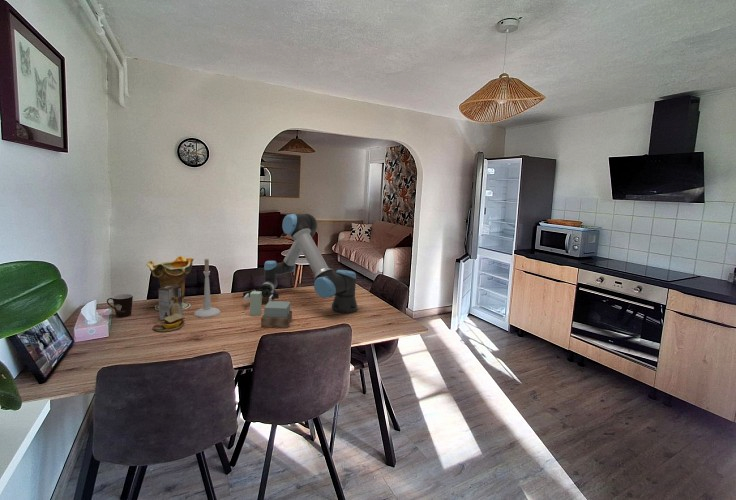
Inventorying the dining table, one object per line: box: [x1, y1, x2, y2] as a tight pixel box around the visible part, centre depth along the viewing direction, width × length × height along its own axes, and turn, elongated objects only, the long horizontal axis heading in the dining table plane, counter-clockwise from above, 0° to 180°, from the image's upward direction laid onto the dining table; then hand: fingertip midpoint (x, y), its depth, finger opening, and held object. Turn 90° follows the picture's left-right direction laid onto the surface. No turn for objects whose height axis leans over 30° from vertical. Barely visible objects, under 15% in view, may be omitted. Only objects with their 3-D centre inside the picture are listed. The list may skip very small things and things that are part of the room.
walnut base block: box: [260, 310, 293, 329], centre depth 184 cm, size 13×13×5 cm
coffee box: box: [157, 285, 184, 321], centre depth 182 cm, size 9×6×16 cm
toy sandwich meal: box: [152, 314, 186, 333], centre depth 171 cm, size 12×14×5 cm
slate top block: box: [263, 300, 291, 318], centre depth 184 cm, size 11×11×5 cm
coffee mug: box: [106, 293, 134, 319], centre depth 183 cm, size 12×9×10 cm
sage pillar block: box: [249, 290, 263, 317], centre depth 195 cm, size 5×5×12 cm
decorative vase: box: [146, 255, 194, 311], centre depth 197 cm, size 21×23×28 cm
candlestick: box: [193, 258, 221, 318], centre depth 190 cm, size 13×13×30 cm
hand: (257, 299), depth 200 cm, fingers open, 13 cm apart
